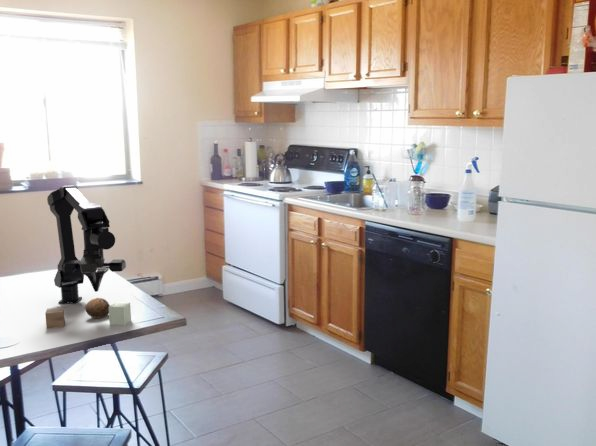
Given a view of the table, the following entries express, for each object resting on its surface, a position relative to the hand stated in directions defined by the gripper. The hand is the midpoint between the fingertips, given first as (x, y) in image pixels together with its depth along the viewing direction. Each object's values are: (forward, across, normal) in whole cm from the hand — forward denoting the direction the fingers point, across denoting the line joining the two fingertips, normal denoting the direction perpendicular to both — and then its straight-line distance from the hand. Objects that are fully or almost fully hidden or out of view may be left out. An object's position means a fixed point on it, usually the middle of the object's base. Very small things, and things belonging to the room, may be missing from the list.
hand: (96, 291), depth 192 cm
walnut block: (+9, -11, -8) cm, 16 cm away
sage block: (+9, +9, -7) cm, 14 cm away
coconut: (+9, 0, 0) cm, 9 cm away
